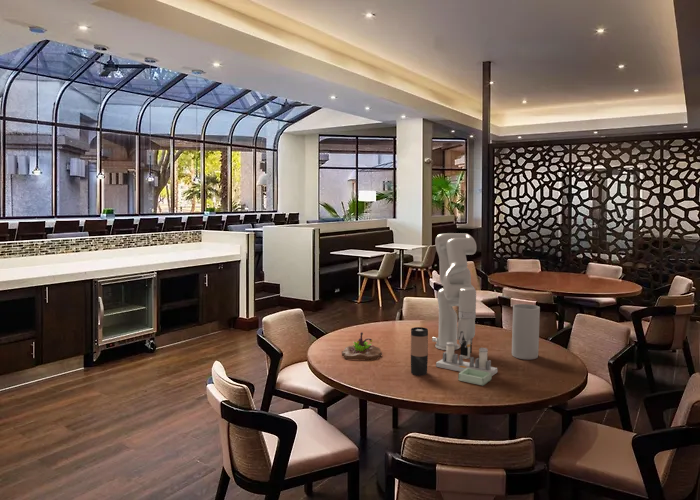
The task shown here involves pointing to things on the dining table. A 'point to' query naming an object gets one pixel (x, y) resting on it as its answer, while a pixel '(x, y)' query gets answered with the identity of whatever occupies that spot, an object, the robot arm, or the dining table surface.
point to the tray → (475, 376)
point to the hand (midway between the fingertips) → (466, 353)
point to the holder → (464, 364)
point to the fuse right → (483, 358)
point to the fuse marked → (468, 350)
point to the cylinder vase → (525, 331)
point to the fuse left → (449, 352)
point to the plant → (362, 350)
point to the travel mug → (419, 350)
